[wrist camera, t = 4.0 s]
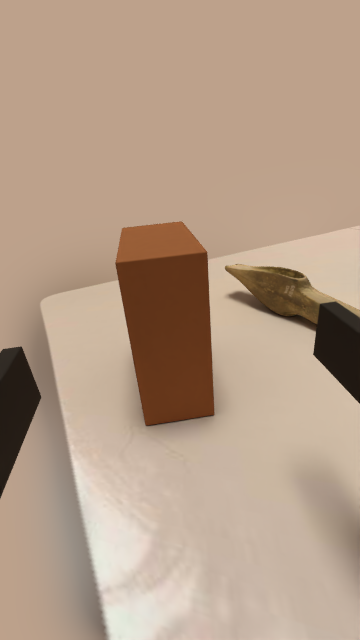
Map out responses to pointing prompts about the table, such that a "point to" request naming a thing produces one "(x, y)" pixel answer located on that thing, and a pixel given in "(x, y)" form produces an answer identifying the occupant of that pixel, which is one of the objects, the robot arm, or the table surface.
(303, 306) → the tool
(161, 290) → the brown rectangular block
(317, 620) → the table surface
